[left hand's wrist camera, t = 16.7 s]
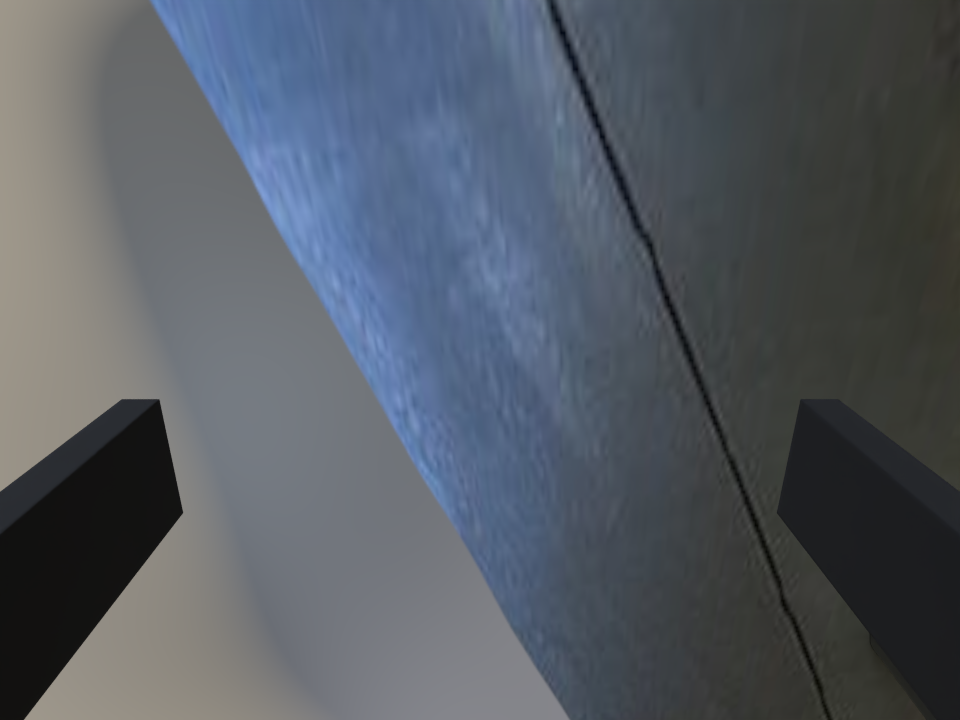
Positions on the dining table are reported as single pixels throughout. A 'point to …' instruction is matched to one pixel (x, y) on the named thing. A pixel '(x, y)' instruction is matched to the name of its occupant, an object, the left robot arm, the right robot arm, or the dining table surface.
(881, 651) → the tin
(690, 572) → the dining table surface
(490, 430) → the dining table surface
